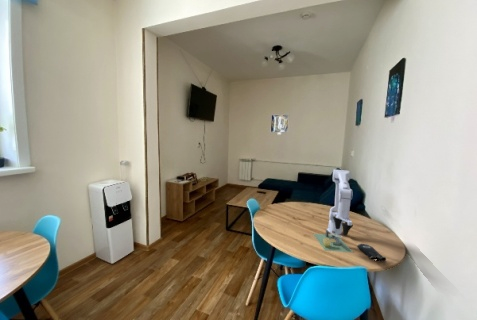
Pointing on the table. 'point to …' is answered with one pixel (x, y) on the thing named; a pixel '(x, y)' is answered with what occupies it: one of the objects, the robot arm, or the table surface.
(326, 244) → the tan stepped block
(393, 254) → the table surface
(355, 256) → the table surface
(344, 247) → the board
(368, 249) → the electronic device
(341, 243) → the brushed aluminum block
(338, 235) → the silver long flat bar
